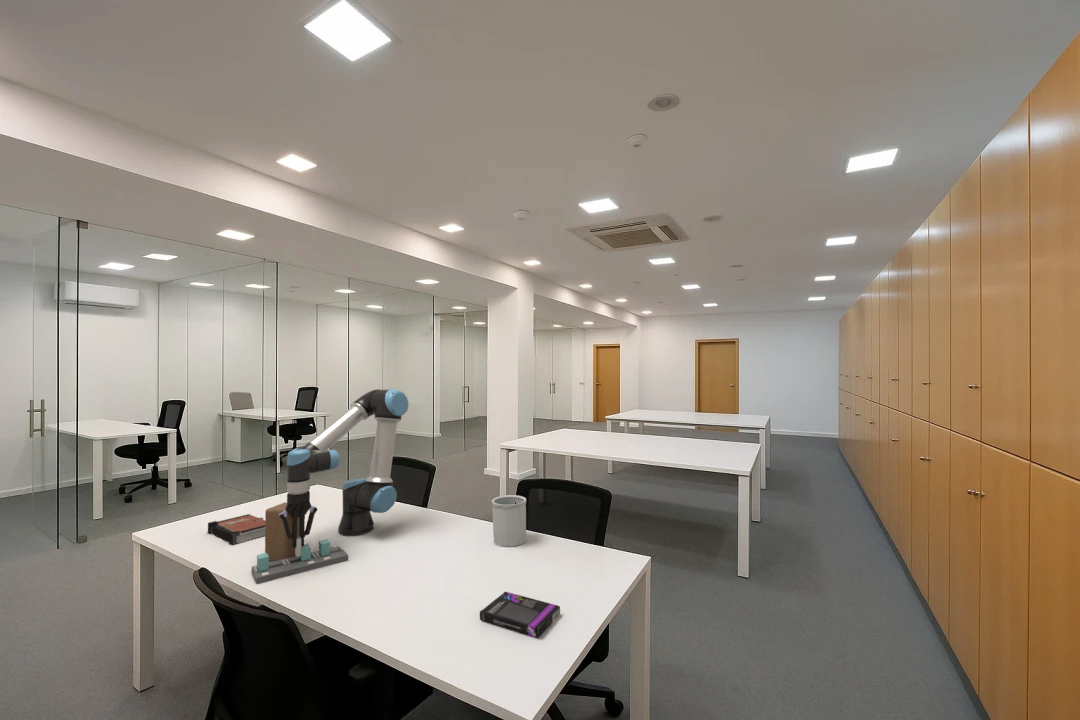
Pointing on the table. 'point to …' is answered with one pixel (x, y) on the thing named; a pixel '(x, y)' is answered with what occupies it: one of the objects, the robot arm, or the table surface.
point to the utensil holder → (509, 520)
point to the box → (520, 614)
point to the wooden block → (278, 534)
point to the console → (298, 565)
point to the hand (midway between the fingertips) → (298, 555)
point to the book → (238, 529)
